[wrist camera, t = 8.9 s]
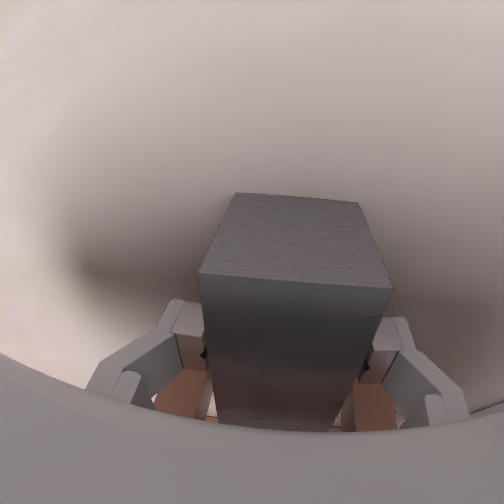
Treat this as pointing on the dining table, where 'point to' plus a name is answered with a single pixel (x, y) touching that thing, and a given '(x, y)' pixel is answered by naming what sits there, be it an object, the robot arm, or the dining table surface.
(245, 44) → the dining table surface
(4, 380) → the robot arm
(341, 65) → the dining table surface
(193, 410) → the brick collars
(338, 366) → the steel block
